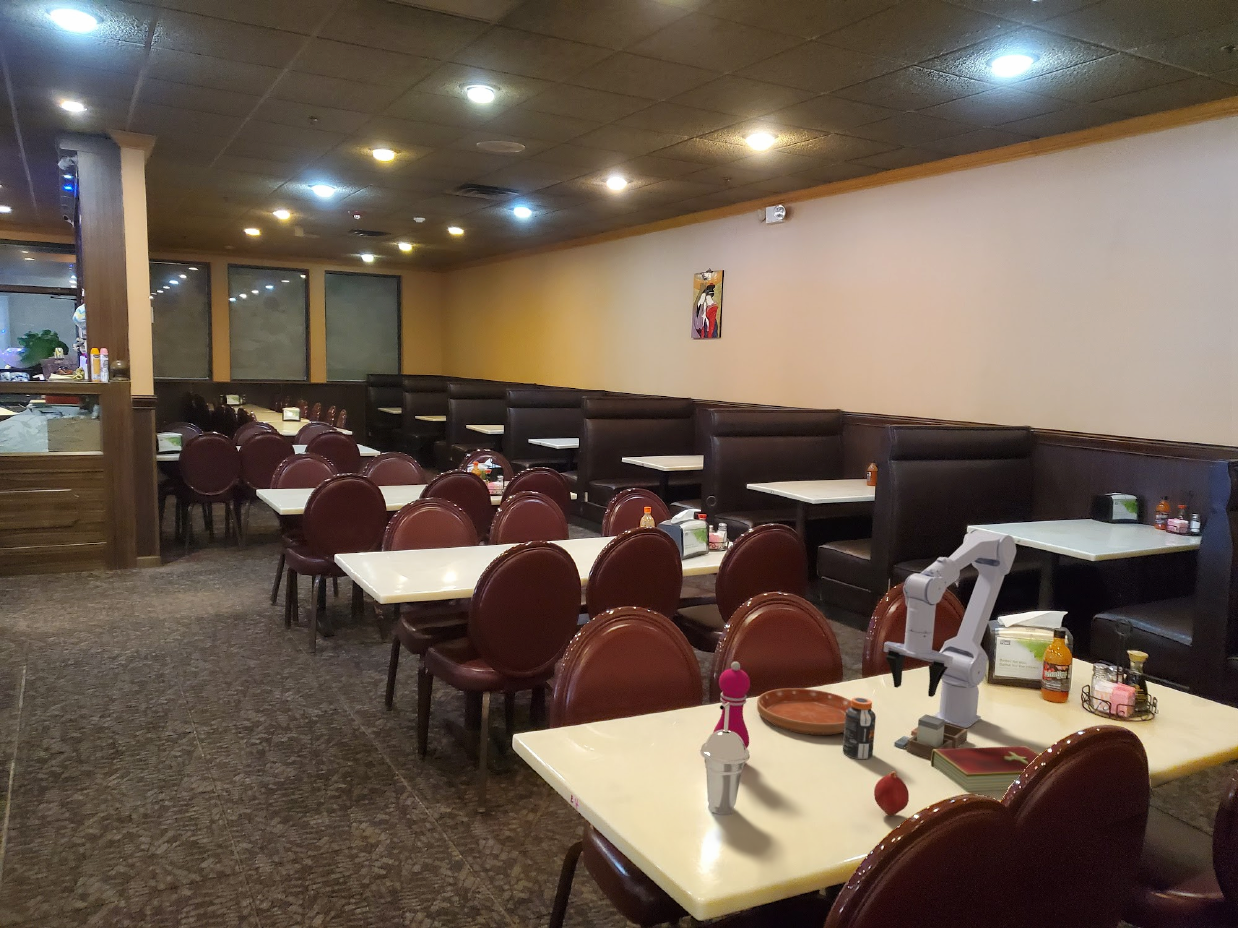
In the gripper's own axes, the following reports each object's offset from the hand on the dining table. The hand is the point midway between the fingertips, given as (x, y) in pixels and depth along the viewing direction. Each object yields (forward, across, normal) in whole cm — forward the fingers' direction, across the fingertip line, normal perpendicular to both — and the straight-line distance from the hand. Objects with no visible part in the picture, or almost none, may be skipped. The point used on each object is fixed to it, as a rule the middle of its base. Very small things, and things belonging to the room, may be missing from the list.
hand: (914, 690), depth 195 cm
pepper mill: (+10, -19, -43) cm, 48 cm away
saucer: (+10, -20, -10) cm, 24 cm away
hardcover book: (+10, +21, -9) cm, 25 cm away
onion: (+10, +13, -41) cm, 44 cm away
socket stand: (+9, +5, -3) cm, 11 cm away
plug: (+9, +7, -8) cm, 14 cm away
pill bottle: (+10, -3, -20) cm, 22 cm away
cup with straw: (+10, -9, -61) cm, 62 cm away
